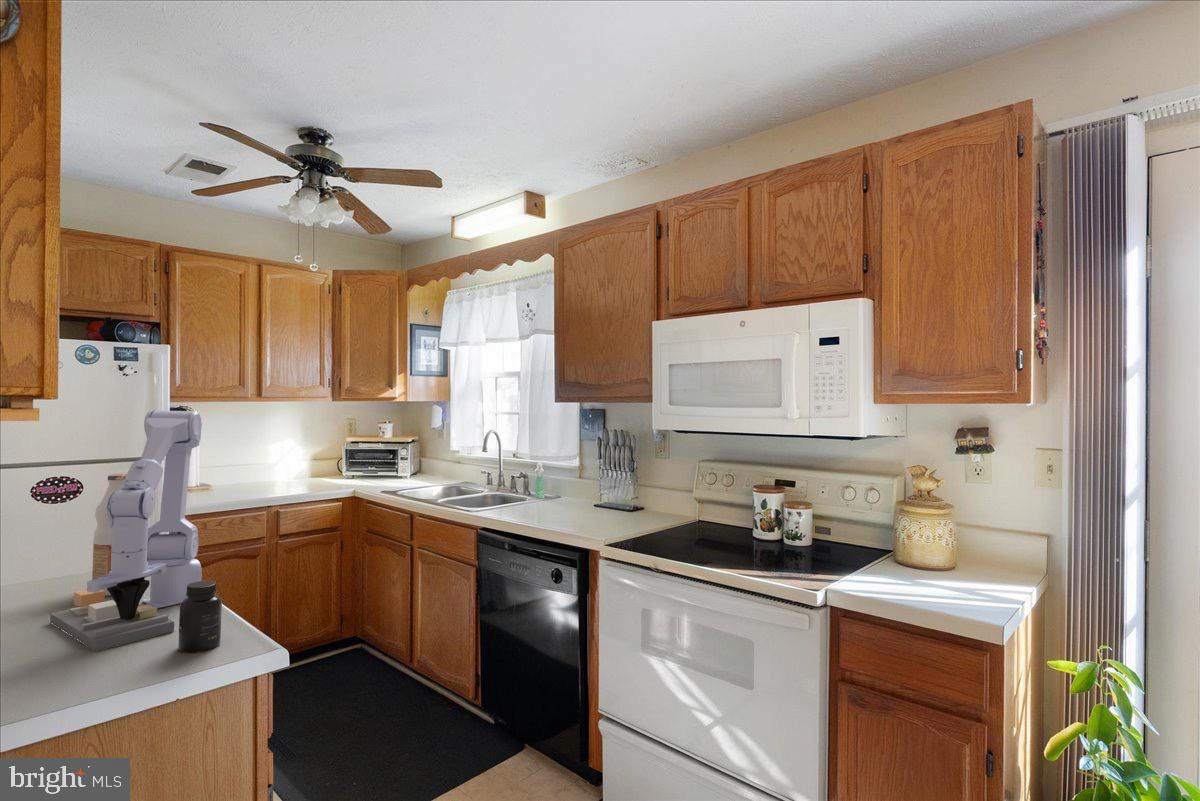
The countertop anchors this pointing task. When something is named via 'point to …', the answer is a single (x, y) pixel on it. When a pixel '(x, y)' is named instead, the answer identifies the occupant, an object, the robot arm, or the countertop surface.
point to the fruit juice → (104, 532)
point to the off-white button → (103, 610)
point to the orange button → (88, 598)
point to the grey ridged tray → (109, 628)
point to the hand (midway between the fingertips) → (127, 618)
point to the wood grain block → (145, 613)
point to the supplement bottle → (200, 618)
